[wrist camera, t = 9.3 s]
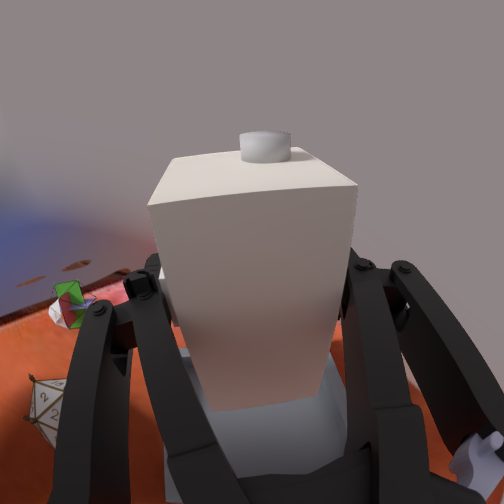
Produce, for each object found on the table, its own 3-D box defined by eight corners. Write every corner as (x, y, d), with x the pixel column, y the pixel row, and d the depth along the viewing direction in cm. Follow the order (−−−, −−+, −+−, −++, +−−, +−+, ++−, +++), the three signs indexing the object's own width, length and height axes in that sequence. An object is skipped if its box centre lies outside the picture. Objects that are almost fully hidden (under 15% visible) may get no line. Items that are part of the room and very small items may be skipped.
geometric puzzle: (65, 290, 35) (39, 275, 28) (101, 284, 37) (78, 267, 29) (69, 336, 33) (40, 329, 26) (106, 331, 34) (81, 324, 27)
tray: (176, 504, 14) (165, 501, 13) (174, 365, 28) (167, 348, 26) (364, 474, 16) (376, 467, 14) (316, 346, 29) (320, 329, 28)
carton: (212, 412, 13) (140, 170, 6) (207, 335, 18) (170, 138, 11) (317, 395, 14) (360, 152, 7) (292, 323, 19) (298, 127, 12)
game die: (111, 435, 22) (130, 386, 21) (84, 487, 14) (91, 452, 12) (48, 392, 22) (54, 333, 20) (11, 433, 13) (-1, 377, 12)
